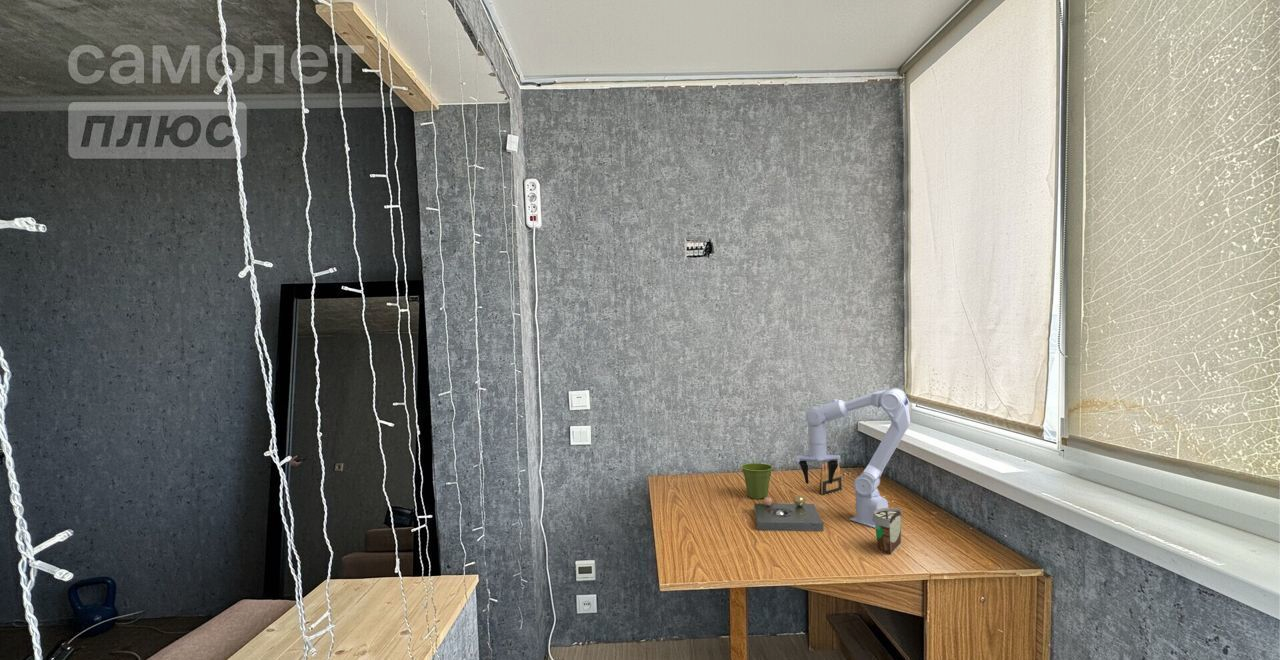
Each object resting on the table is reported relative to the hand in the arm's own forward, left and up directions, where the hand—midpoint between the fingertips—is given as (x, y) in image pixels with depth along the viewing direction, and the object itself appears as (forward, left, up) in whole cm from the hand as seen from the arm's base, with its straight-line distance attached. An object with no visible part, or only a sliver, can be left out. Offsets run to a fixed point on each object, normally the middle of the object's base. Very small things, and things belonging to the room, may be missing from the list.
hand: (818, 483), depth 199 cm
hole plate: (+2, +13, -10) cm, 17 cm away
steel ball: (+4, +15, -9) cm, 18 cm away
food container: (-30, +8, -11) cm, 33 cm away
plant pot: (+27, +3, -11) cm, 29 cm away
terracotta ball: (+11, +13, -6) cm, 18 cm away
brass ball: (+4, +5, -6) cm, 9 cm away
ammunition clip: (+14, -22, -11) cm, 28 cm away
